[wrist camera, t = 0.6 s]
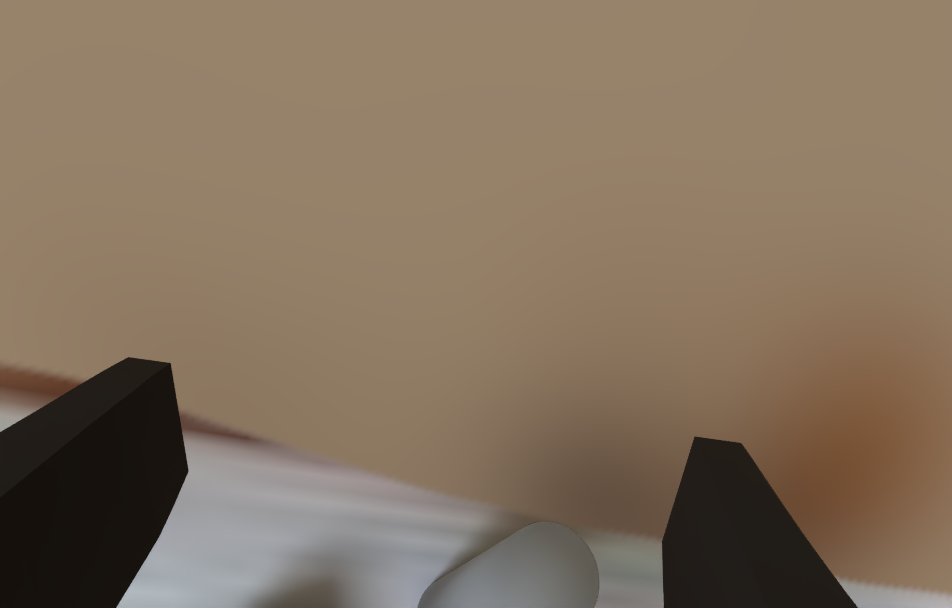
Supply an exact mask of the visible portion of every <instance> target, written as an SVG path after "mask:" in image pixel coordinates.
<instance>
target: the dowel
mask: <svg viewBox="0 0 952 608" xmlns="http://www.w3.org/2000/svg"><path fill="white" fill-rule="evenodd" d="M598 593H599V573H598V568H597V564H596V561H595V559H594V556H593V554H592V552H591V550H590V549H589V547H588V546H587V544H586V543H585V542H584V540H583V539H582V538H581V537H580V536H579V535H578V534H577V533H575V532H574V531H573V530H571V529H570V528H568V527H566V526H564V525H561V524H559V523H555V522H549V521H541V522H535V523H532V524H529V525H527V526H525V527H523V528H522V529H520V530H518V531H517V532H515V533H514V534H512V535H510V536H509V537H507V538H505V539H504V540H502V541H501V542H499V543H497V544H496V545H494V546H492V547H491V548H489V549H487V550H486V551H484V552H483V553H481V554H479V555H478V556H476V557H474V558H473V559H471V560H470V561H468V562H466V563H465V564H463V565H461V566H460V567H458V568H456V569H455V570H453V571H452V572H450V573H448V574H447V575H445V576H443V577H442V578H440V579H439V580H437V581H435V582H434V583H432V584H431V585H430V586H429V587H428V588H427V589H426V591H425V592H424V593H423V595H422V597H421V599H420V601H419V605H418V608H594V606H595V604H596V601H597V598H598Z"/></svg>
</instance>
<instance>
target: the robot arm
mask: <svg viewBox="0 0 952 608" xmlns="http://www.w3.org/2000/svg"><path fill="white" fill-rule="evenodd" d="M187 474H188V465H187V459H186V453H185V447H184V441H183V435H182V429H181V423H180V417H179V411H178V405H177V399H176V393H175V388H174V382H173V375H172V369H171V363H166V362H159V361H152V360H144V359H137V358H130V357H128V358H126V359H124V360H123V361H120V362H119V363H117V364H115V365H113V366H111V367H110V368H108V369H106V370H104V371H103V372H101V373H99V374H97V375H96V376H94V377H92V378H90V379H89V380H87V381H85V382H84V383H82V384H80V385H79V386H77V387H75V388H74V389H72V390H70V391H69V392H67V393H65V394H64V395H62V396H60V397H59V398H57V399H55V400H54V401H52V402H50V403H49V404H47V405H45V406H44V407H42V408H40V409H39V410H37V411H35V412H34V413H32V414H30V415H29V416H27V417H25V418H24V419H22V420H20V421H18V422H17V423H15V424H13V425H12V426H10V427H8V428H7V429H5V430H3V431H1V432H0V608H116V607H117V605H118V604H119V602H120V601H121V599H122V597H123V596H124V594H125V592H126V591H127V589H128V588H129V586H130V584H131V583H132V581H133V579H134V578H135V576H136V574H137V573H138V571H139V570H140V568H141V566H142V565H143V563H144V561H145V560H146V558H147V556H148V555H149V553H150V551H151V550H152V548H153V546H154V545H155V543H156V541H157V539H158V538H159V536H160V534H161V532H162V530H163V528H164V525H165V523H166V521H167V519H168V517H169V515H170V513H171V510H172V508H173V506H174V504H175V501H176V499H177V497H178V494H179V492H180V490H181V488H182V485H183V483H184V481H185V478H186V476H187ZM662 558H663V593H664V608H858V607H857V606H856V605H855V603H854V602H853V601H852V599H851V598H850V597H849V596H848V594H847V593H846V592H845V590H844V589H843V588H842V586H841V585H840V584H839V582H838V581H837V579H836V578H835V577H834V575H833V574H832V573H831V571H830V570H829V569H828V567H827V566H826V565H825V563H824V562H823V560H822V559H821V558H820V557H819V555H818V554H817V552H816V551H815V550H814V548H813V547H812V545H811V544H810V543H809V541H808V540H807V538H806V537H805V536H804V534H803V533H802V531H801V530H800V528H799V527H798V526H797V524H796V523H795V521H794V520H793V518H792V517H791V515H790V514H789V513H788V511H787V510H786V508H785V507H784V505H783V504H782V502H781V501H780V499H779V498H778V497H777V495H776V494H775V492H774V490H773V489H772V487H771V486H770V484H769V483H768V481H767V480H766V479H765V477H764V476H763V474H762V473H761V471H760V470H759V468H758V467H757V465H756V464H755V462H754V461H753V459H752V458H751V456H750V455H749V453H748V452H747V450H746V449H745V448H744V446H743V445H742V444H741V443H736V442H729V441H722V440H715V439H708V438H701V437H694V440H693V444H692V447H691V450H690V453H689V457H688V460H687V463H686V466H685V470H684V473H683V476H682V479H681V483H680V486H679V489H678V492H677V495H676V498H675V502H674V505H673V508H672V511H671V515H670V518H669V521H668V524H667V528H666V531H665V534H664V537H663V540H662Z"/></svg>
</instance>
